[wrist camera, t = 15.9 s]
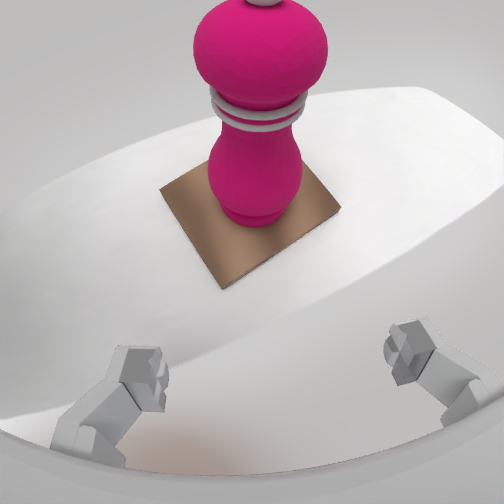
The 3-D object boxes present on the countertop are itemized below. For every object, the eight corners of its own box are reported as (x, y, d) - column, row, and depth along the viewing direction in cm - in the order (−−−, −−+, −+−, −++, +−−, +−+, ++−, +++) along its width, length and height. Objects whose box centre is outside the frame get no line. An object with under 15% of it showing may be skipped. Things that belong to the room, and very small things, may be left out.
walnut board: (222, 289, 25) (221, 287, 24) (162, 195, 27) (159, 189, 26) (337, 211, 27) (341, 207, 26) (270, 133, 29) (271, 126, 28)
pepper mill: (242, 150, 27) (239, -52, 8) (307, 186, 26) (382, -17, 7) (197, 206, 25) (124, -7, 6) (266, 249, 24) (314, 26, 5)
